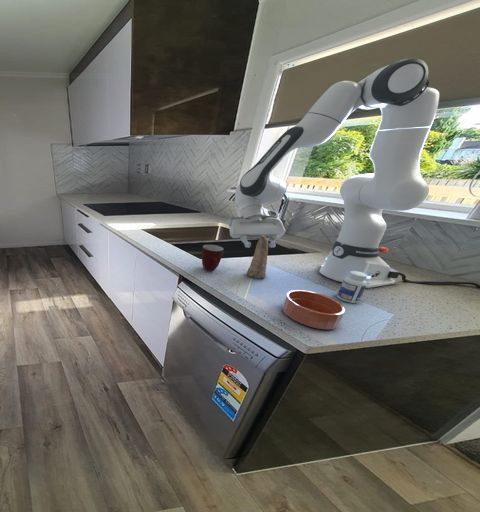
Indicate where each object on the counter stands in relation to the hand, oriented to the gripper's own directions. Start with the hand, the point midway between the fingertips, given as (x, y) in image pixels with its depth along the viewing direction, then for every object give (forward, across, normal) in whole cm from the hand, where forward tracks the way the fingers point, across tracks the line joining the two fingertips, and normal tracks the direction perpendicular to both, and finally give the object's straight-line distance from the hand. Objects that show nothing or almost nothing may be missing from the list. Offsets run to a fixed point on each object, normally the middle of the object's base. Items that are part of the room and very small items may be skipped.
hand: (260, 246), depth 96 cm
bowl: (+29, +1, -12) cm, 31 cm away
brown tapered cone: (+10, 0, +8) cm, 12 cm away
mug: (+6, -16, +11) cm, 21 cm away
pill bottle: (+22, +21, -4) cm, 31 cm away
